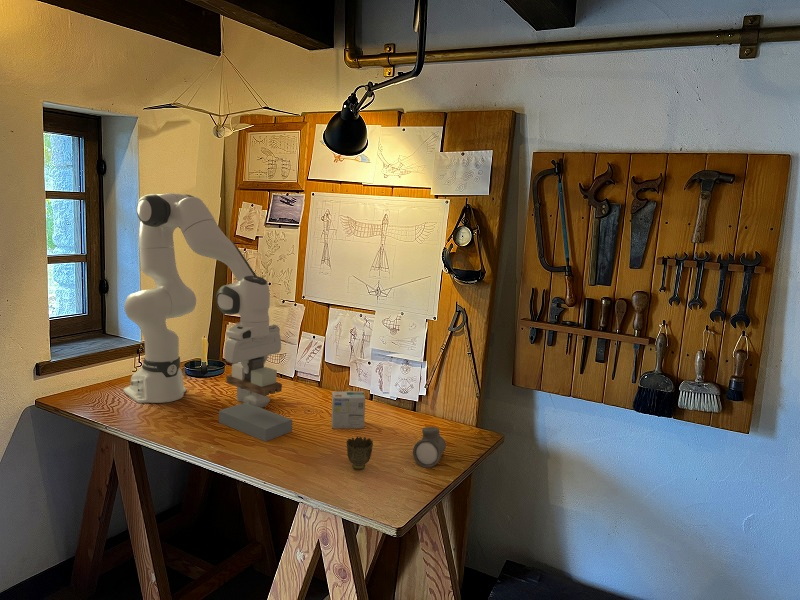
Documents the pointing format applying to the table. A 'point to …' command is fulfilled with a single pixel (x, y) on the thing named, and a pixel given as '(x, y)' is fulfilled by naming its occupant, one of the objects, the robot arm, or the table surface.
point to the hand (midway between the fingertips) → (253, 371)
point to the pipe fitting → (429, 447)
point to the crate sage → (263, 376)
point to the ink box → (242, 393)
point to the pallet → (247, 384)
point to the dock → (255, 421)
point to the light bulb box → (348, 409)
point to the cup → (359, 452)
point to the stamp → (257, 400)
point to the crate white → (238, 371)
